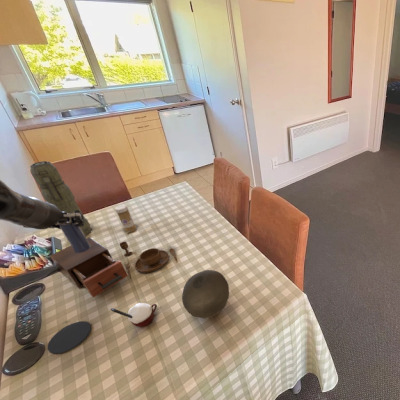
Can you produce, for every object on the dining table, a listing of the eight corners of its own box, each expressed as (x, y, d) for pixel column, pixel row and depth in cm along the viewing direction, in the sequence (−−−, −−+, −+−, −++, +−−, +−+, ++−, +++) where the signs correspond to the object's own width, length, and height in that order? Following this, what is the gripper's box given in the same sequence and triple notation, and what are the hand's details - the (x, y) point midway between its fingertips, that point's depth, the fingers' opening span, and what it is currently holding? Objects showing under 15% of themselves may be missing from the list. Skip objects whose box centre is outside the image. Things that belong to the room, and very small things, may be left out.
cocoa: (158, 307, 88) (146, 282, 82) (162, 321, 84) (149, 295, 78) (125, 323, 83) (109, 297, 77) (127, 338, 79) (110, 312, 73)
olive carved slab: (71, 243, 117) (26, 170, 100) (66, 232, 124) (23, 163, 107) (95, 233, 123) (56, 163, 105) (89, 224, 130) (51, 156, 112)
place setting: (129, 283, 97) (123, 271, 94) (122, 254, 111) (116, 243, 108) (180, 261, 107) (176, 250, 104) (167, 237, 120) (163, 227, 117)
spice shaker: (78, 254, 87) (58, 221, 80) (72, 250, 89) (52, 217, 82) (93, 247, 90) (74, 215, 83) (87, 243, 92) (69, 211, 85)
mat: (56, 360, 73) (55, 359, 73) (42, 343, 78) (41, 341, 78) (97, 331, 81) (96, 330, 81) (82, 317, 85) (81, 315, 85)
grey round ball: (179, 327, 82) (164, 294, 74) (202, 290, 94) (192, 259, 86) (222, 332, 80) (211, 299, 73) (240, 294, 92) (233, 263, 85)
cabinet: (116, 266, 105) (107, 249, 100) (79, 288, 95) (66, 270, 91) (99, 254, 111) (89, 237, 107) (62, 273, 102) (49, 255, 97)
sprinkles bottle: (125, 235, 122) (114, 210, 115) (126, 230, 125) (114, 206, 119) (137, 232, 124) (126, 207, 117) (137, 227, 128) (126, 203, 121)
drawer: (134, 280, 97) (126, 265, 94) (99, 302, 89) (89, 287, 85) (110, 263, 105) (102, 249, 102) (75, 282, 97) (66, 267, 93)
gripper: (64, 195, 73) (98, 209, 89) (-2, 204, 69) (46, 217, 85) (64, 221, 72) (99, 231, 88) (-3, 232, 68) (46, 240, 84)
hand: (73, 224), depth 86 cm, fingers closed on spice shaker, 4 cm apart
